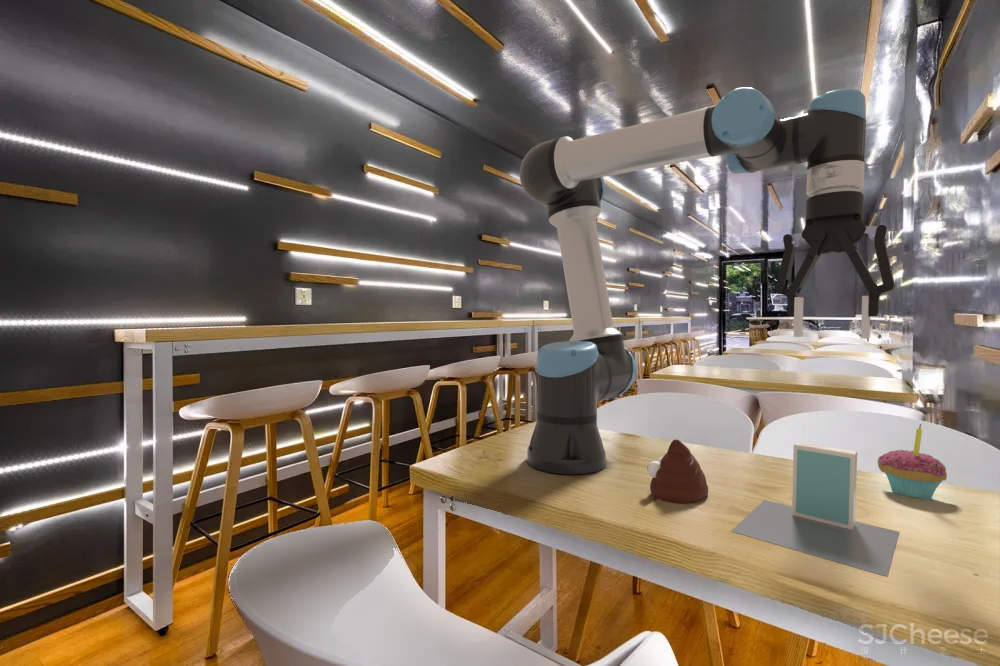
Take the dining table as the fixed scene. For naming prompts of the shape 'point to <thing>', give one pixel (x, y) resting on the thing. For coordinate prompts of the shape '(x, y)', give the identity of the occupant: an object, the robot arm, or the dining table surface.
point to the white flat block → (824, 484)
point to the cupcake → (912, 471)
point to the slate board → (822, 537)
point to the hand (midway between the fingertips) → (830, 337)
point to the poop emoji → (677, 476)
